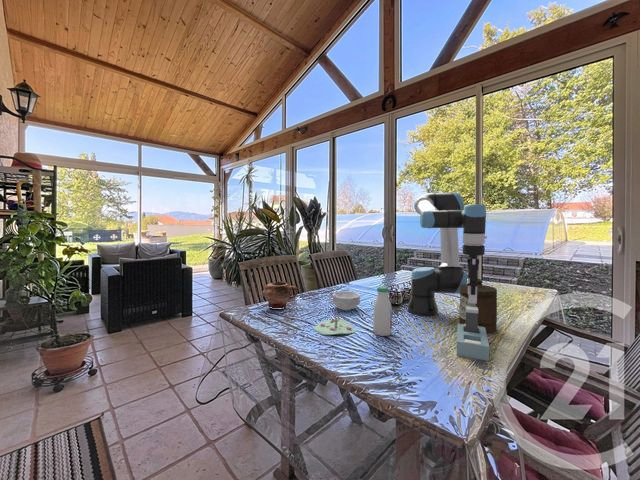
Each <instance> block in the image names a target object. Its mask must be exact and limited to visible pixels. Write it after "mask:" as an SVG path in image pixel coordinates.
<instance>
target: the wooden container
mask: <svg viewBox="0 0 640 480" xmlns="http://www.w3.org/2000/svg"><path fill="white" fill-rule="evenodd" d="M477 283H478V285H477V304H475V303H468V299H469V294H468V286H467V284H465V285H461V286H460V293H459V311H458V312H459V313H458V314H459V321H458V324H466V306H469V307H478V326H480V327H485V330H486V334H491V333H495V332H496V331H497V328H498V326H497V323H498V321H497V319H498V298H497V296H498V289H497V288H496V287H494V286H491V285H485V284H483V279H480V278H477Z"/></svg>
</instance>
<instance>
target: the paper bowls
mask: <svg viewBox="0 0 640 480" xmlns="http://www.w3.org/2000/svg"><path fill="white" fill-rule="evenodd" d="M332 303H333V305H335V306H336V308H337V309H338V308H339V309H338V310H340V309H342V310H341V311H352V310H351V309H353V310H355V309H356V308H357V306H359V305H360V303H361V295H360V293H358V292H356V291H355V292H354V291H349V290H339V291H336V292H334V293H332ZM354 308H355V309H354Z"/></svg>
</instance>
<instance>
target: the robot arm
mask: <svg viewBox="0 0 640 480" xmlns="http://www.w3.org/2000/svg"><path fill="white" fill-rule="evenodd" d="M414 210H415V212H416V213H417V214H418V215H420V216H419V225H420V227H421V228H422V229H439V233H440V234H439V235H440V261H441V264H440V265H438V267H437V268H438V270H437V269H436V268H435V267H433V266H424V267H423V266H422V267H416V268H414V269H412V271H411V276H410V279H411V287H410V288H411V289H410V291H411V294H410V298H409V301H408V304H407V312H408V313H410V314H413V315H415V316H423V317H424V316H426V317H427V316H428V317H431V316H436V315H438V313H439V309H438V304H437V302H436V298H435V297H436V296H435V294H460V286H461V285H465V284H467V286H468V294H469V299H468V303H475V304H477V285H478V283H477V279H478V271H479V265H480V259H479V258H478V256H480V257H481V256H485V251H486V250H485V249H486V248H485V247H486V246H485V243H486V239H488V237H487V236H486V224H487V223H486V220H487V219H486V218H487V206H486V205H485V204H482V203H479V204H477V203H475V204H473V203H471V204H465V205H464V198H463V196H462V195H461V194H460V193H458V192H451V191H450V192H431V193H426V194H422V195H420V197H418V198H417V199H416V200H415V202H414ZM458 229H463V230H462V231H463V232H462V243H463V245H462V254H463V255H465V256H468V258H467V262H466V263H467V270H468V273H467V271H465V270H464V269H463V268H464V266H462V265H461V264H460V250H459V249H460V248H459V231H458Z"/></svg>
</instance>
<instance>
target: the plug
mask: <svg viewBox="0 0 640 480" xmlns="http://www.w3.org/2000/svg"><path fill="white" fill-rule="evenodd" d="M477 331H478V307H469V306H466V332H472V333H477Z"/></svg>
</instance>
